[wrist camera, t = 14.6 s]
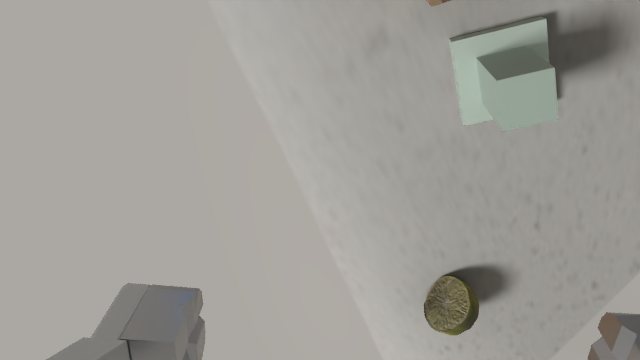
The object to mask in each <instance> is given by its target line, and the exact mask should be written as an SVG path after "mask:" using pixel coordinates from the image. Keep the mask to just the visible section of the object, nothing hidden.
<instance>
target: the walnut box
mask: <svg viewBox="0 0 640 360" xmlns="http://www.w3.org/2000/svg"><path fill="white" fill-rule="evenodd" d="M426 1H427V2H428V3H429V4H430V5H431V6H435V5H438V4H441V3H444V2H447V1H450V0H426Z"/></svg>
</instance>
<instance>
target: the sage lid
mask: <svg viewBox="0 0 640 360" xmlns="http://www.w3.org/2000/svg"><path fill="white" fill-rule="evenodd" d="M449 43H450V50H451V56H452V63H453V70H454V76H455V83H456V89H457V96H458V102H459V109H460V115H461V121H462V123H463V125H464V126H466V125H471V124H475V123H480V122H484V121H489V120H493V119H494V120H495V122H496V123H497V124H498V126H499V127H500V129H501V130H502V132H504V131H508V130H513V129H518V128H522V127H527V126H532V125H536V124H541V123H546V122H550V121H555V120H558V107H557V92H556V77H555V67H554V66H552V65H551V64H550V62H549V48H548V34H547V20H546V18H544V17H542V16H539V17H535V18H531V19H527V20H523V21H519V22H515V23H511V24H507V25H503V26H499V27H495V28H491V29H487V30H483V31H479V32H475V33H471V34H467V35H463V36H459V37H455V38H450V39H449Z"/></svg>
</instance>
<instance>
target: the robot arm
mask: <svg viewBox="0 0 640 360" xmlns="http://www.w3.org/2000/svg"><path fill="white" fill-rule="evenodd" d="M202 306H203V300H202V292H201V290H200V289H199V288H187V287H175V286H162V285H146V284H132V283H128V284H126V285H125V286H123V287H122V289H121V290H120V292H119V293H118V295H117V297H116V298H115V300H114V302H113V303H112V304H111V306H110V308H109V309H108V311H107V313H106V314H105V316H104V317H103V319H102V321H101V323H100V324H99V325H98V327H97V329H96V330H95V332H94V333H93V335H92V337H91V338H82V339H80V340H79V341H77V342H75V343H73V344H72V345H70V346H68V347H67V348H65V349H63V350H62V351H60V352H58V353H57V354H55V355H53V356H52V357H50V358H48V359H46V360H201V359H202V356H203V350H204V344H205V321H204V320H203V319H202V318H201V317H200V316H199V314H200V311H201V309H202ZM598 329H599V331H600V333H601V335H602V337H601V338H600V339H599V340H597V341H596V342H595V343H593V344H592V345H591V349H590V352H589V355H588V360H640V314H626V313H608V312H606V314H605V315H604V316H603V317H602V318H601V320H600V323H599V326H598Z"/></svg>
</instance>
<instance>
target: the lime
mask: <svg viewBox="0 0 640 360" xmlns="http://www.w3.org/2000/svg"><path fill="white" fill-rule="evenodd" d="M424 313H425V318H426V320H427V322H428V323H429V325H430V326H431V327H432V328H433V329H434V330H436V331H438V332H442V333H445V334H448V335H458V334H461V333H462V332H464V331H466V330H469V329H470V328H471V327H472V325H473V324H474V322H475V321H476V320H477V318H478V313H479V303H478V299H477V297H476V295H475V293H474V292H473V290H472V289H471V288H470V287H469V286H468V285H467V284H466V283H465V282H464V281H462V280H460V279H459V278H456V277H452V276H444V277H441V278H440V279H439V280H438V281H436V282H435V283H434V284H433V286H432V287H431V289H430V290H429V292H428V295H427V297H426V302H425V303H424Z"/></svg>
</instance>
